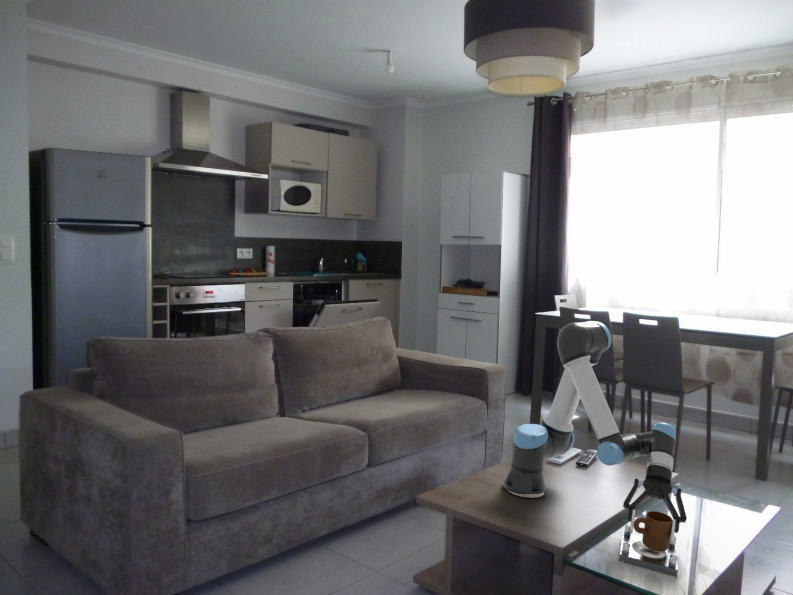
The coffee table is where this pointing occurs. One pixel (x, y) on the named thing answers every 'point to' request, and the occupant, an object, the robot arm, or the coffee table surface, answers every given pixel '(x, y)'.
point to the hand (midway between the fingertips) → (651, 536)
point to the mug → (655, 530)
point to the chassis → (647, 554)
